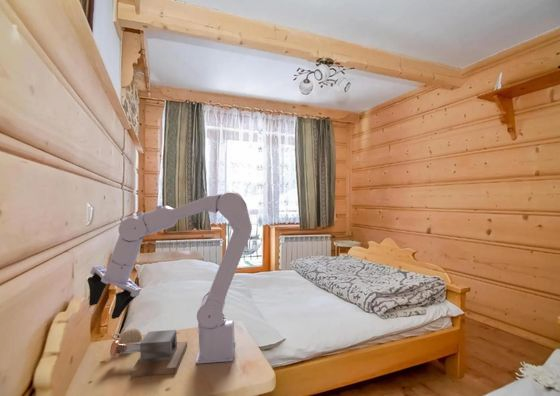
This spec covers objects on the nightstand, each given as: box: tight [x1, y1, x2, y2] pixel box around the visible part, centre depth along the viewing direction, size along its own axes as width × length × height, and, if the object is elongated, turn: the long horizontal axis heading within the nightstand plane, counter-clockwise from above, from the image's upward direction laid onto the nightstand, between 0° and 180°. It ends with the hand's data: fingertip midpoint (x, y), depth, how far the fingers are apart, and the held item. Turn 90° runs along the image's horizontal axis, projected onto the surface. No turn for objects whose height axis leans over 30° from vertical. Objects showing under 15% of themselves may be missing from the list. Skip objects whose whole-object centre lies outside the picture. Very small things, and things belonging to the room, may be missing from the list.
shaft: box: [109, 340, 141, 359], centre depth 78 cm, size 11×4×4 cm, turn 94°
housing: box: [130, 329, 188, 378], centre depth 78 cm, size 10×12×6 cm
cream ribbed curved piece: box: [110, 327, 144, 343], centre depth 85 cm, size 4×8×5 cm, turn 129°
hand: (104, 310), depth 77 cm, fingers open, 7 cm apart
